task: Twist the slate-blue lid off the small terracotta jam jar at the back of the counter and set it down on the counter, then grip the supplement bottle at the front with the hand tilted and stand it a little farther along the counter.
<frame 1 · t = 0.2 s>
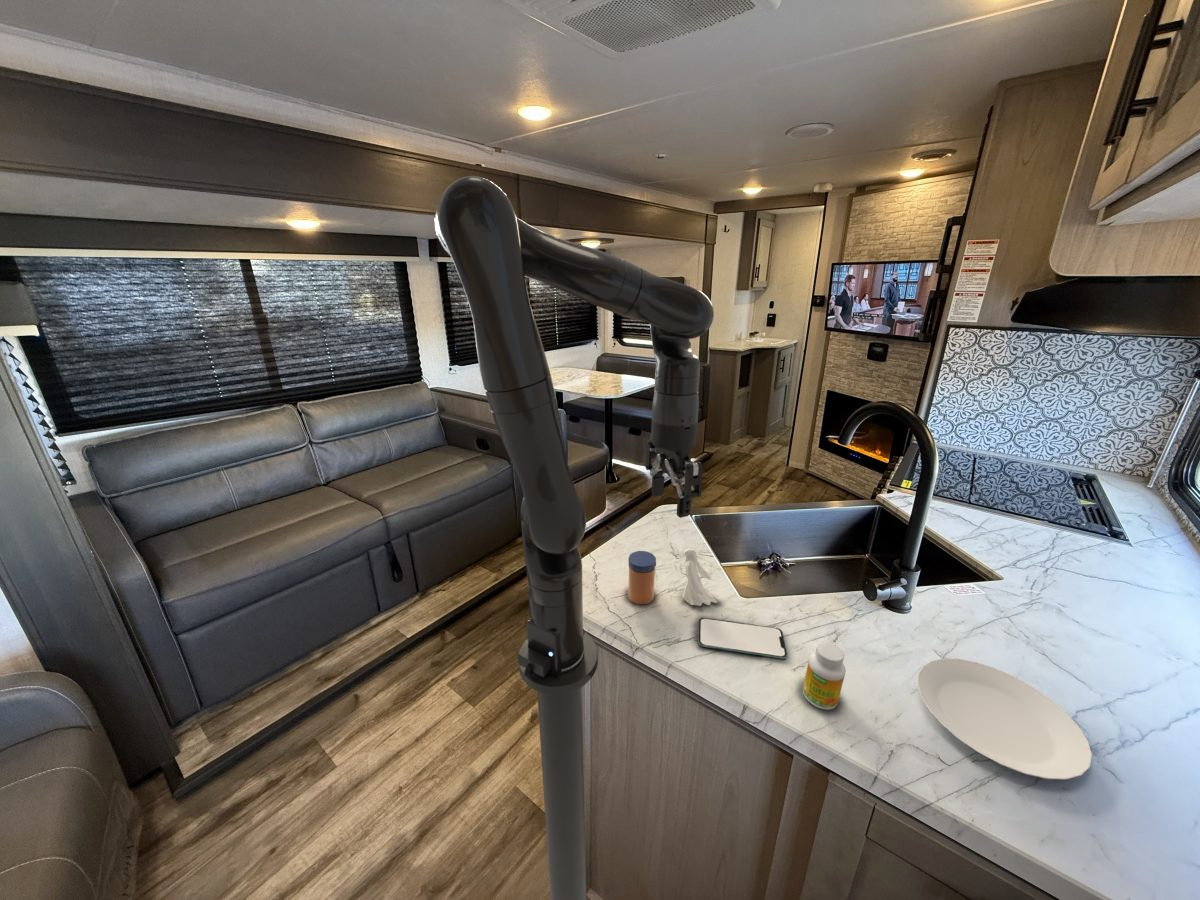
hand: (669, 505, 81), 28 cm above the worktop, tool pointing down, fingers open, 8 cm apart
jar: (640, 596, 100), on the worktop
supplement bottle: (819, 697, 76), on the worktop
jar lid: (642, 560, 97), point 9 cm above the worktop, screwed on, not yet turned
plate: (992, 721, 72), on the worktop
figurine: (698, 599, 100), on the worktop
smartphone: (740, 639, 89), on the worktop
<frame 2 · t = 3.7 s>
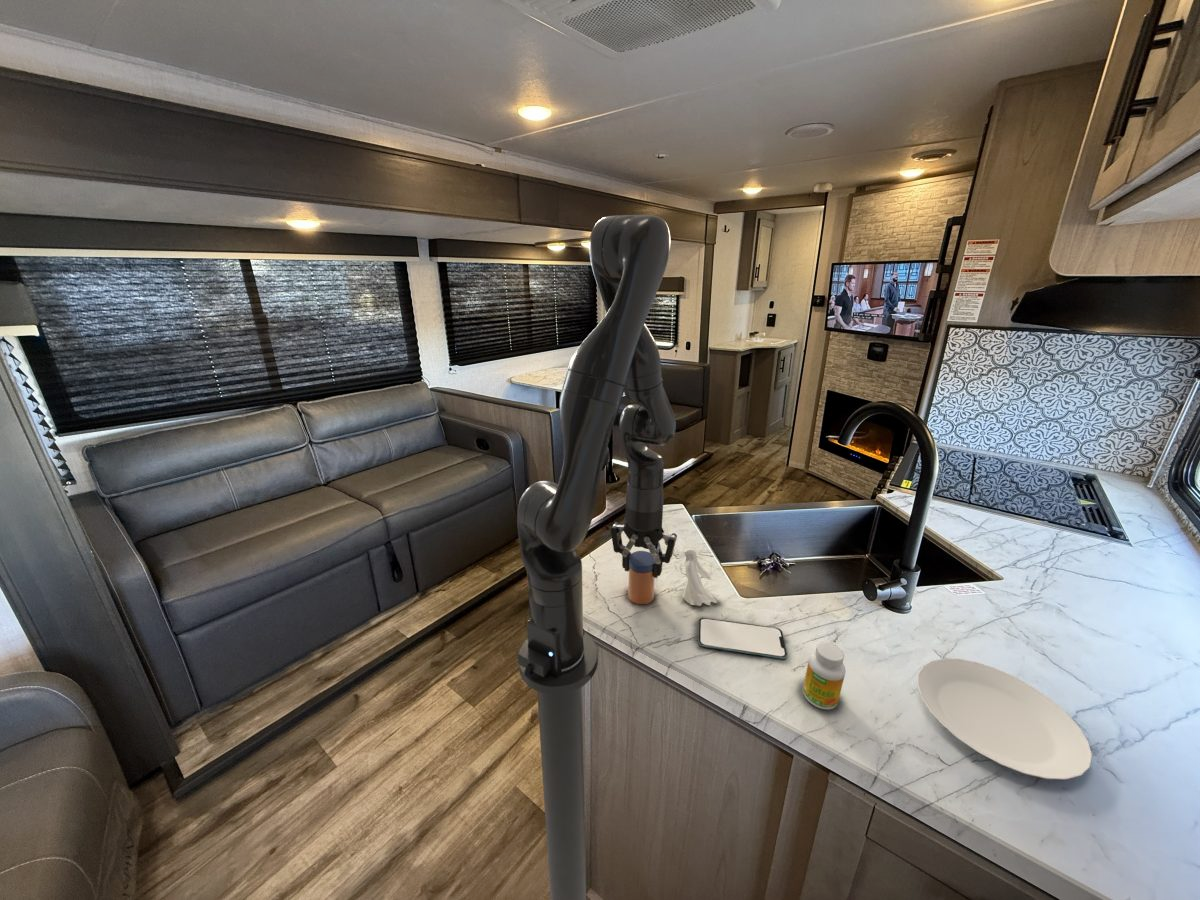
hand: (641, 572, 98), 6 cm above the worktop, tool pointing down, fingers closed on jar lid, 5 cm apart
jar lid: (642, 560, 97), point 9 cm above the worktop, screwed on, not yet turned, touching gripper
everything else where it was.
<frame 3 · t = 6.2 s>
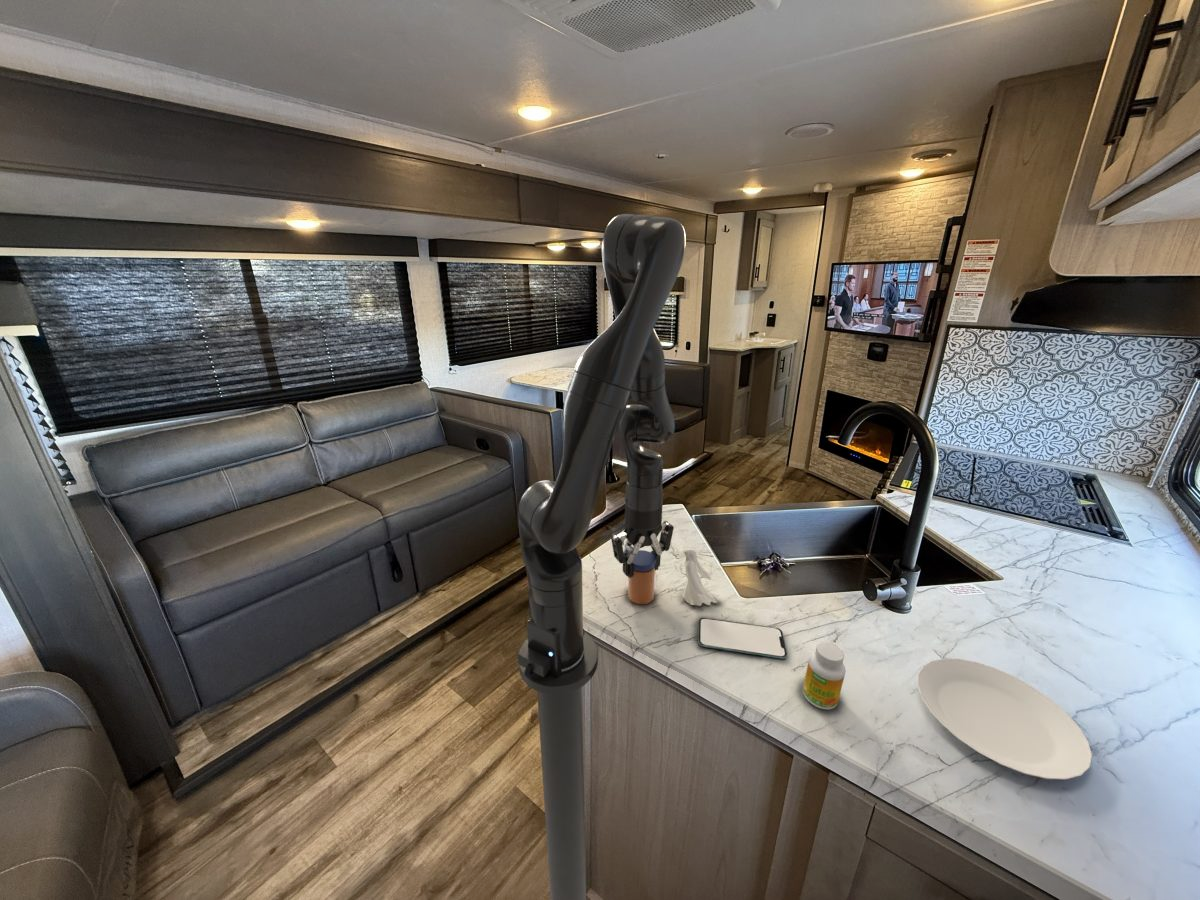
hand: (641, 571, 98), 6 cm above the worktop, tool pointing down, fingers closed on jar lid, 5 cm apart
jar lid: (642, 559, 97), point 9 cm above the worktop, turned 46° so far, risen 0.1 cm, still on its thread, touching gripper
everything else where it was.
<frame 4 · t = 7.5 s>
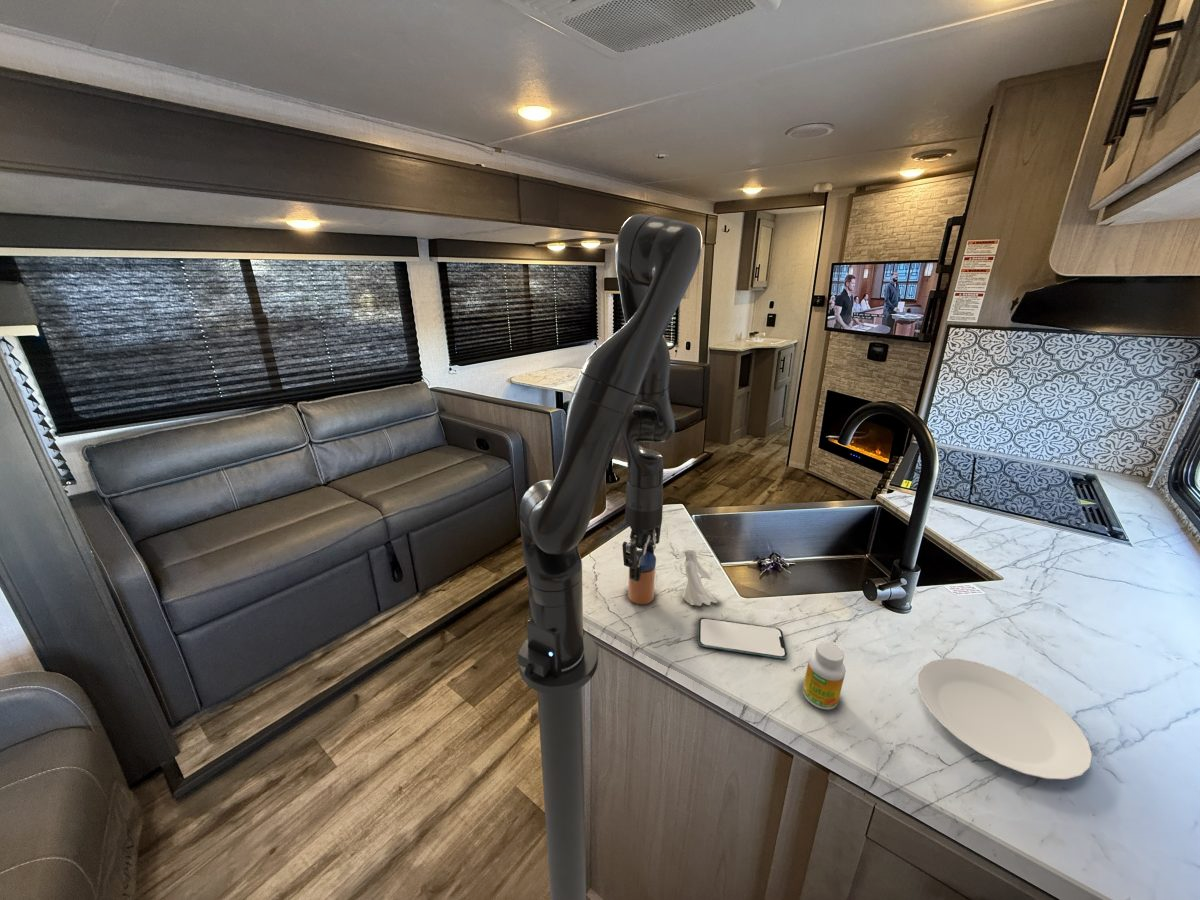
hand: (641, 571, 98), 6 cm above the worktop, tool pointing down, fingers closed on jar lid, 5 cm apart
jar lid: (642, 559, 97), point 9 cm above the worktop, turned 80° so far, risen 0.2 cm, still on its thread, touching gripper
everything else where it was.
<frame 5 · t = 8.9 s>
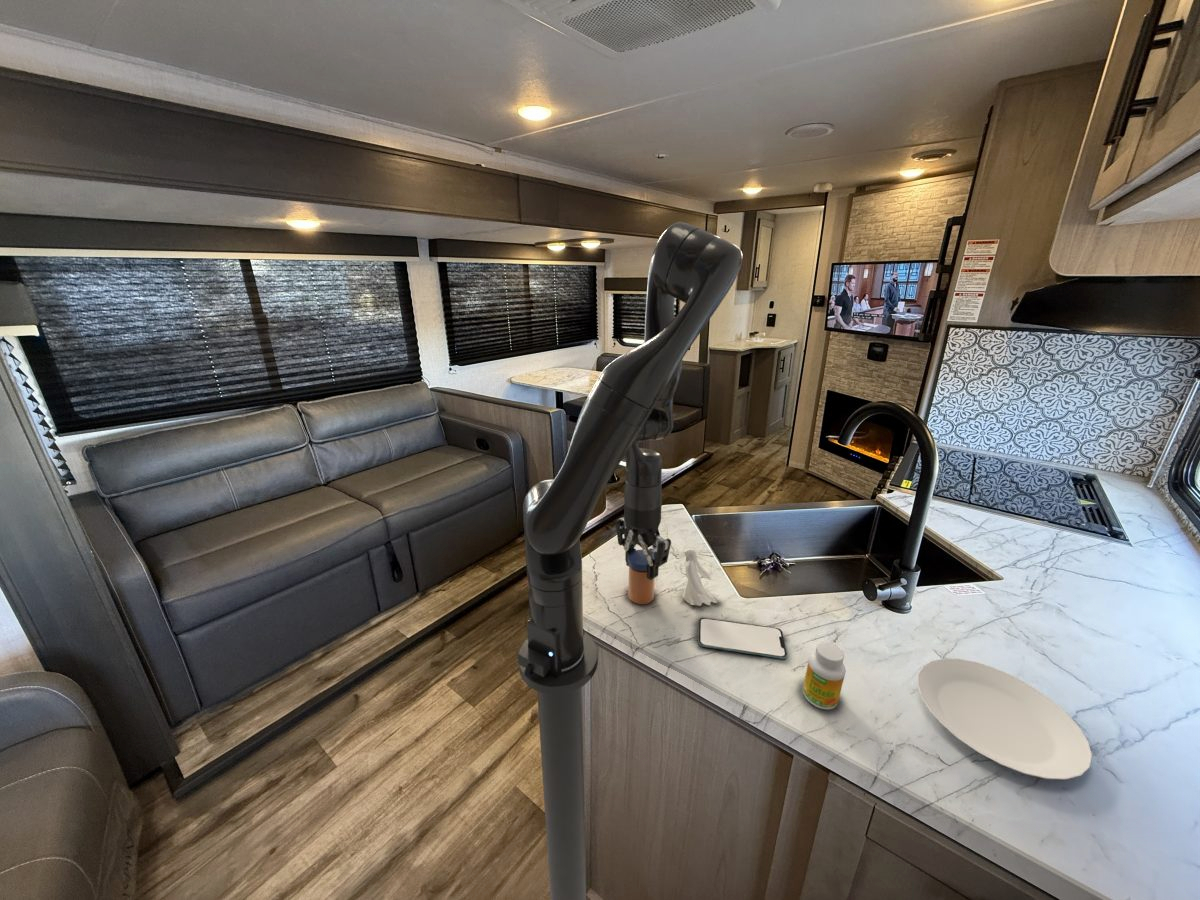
hand: (641, 570, 98), 7 cm above the worktop, tool pointing down, fingers closed on jar lid, 5 cm apart
jar: (640, 595, 100), on the worktop, touching gripper
jar lid: (641, 558, 97), point 10 cm above the worktop, off its thread, touching gripper
everything else where it was.
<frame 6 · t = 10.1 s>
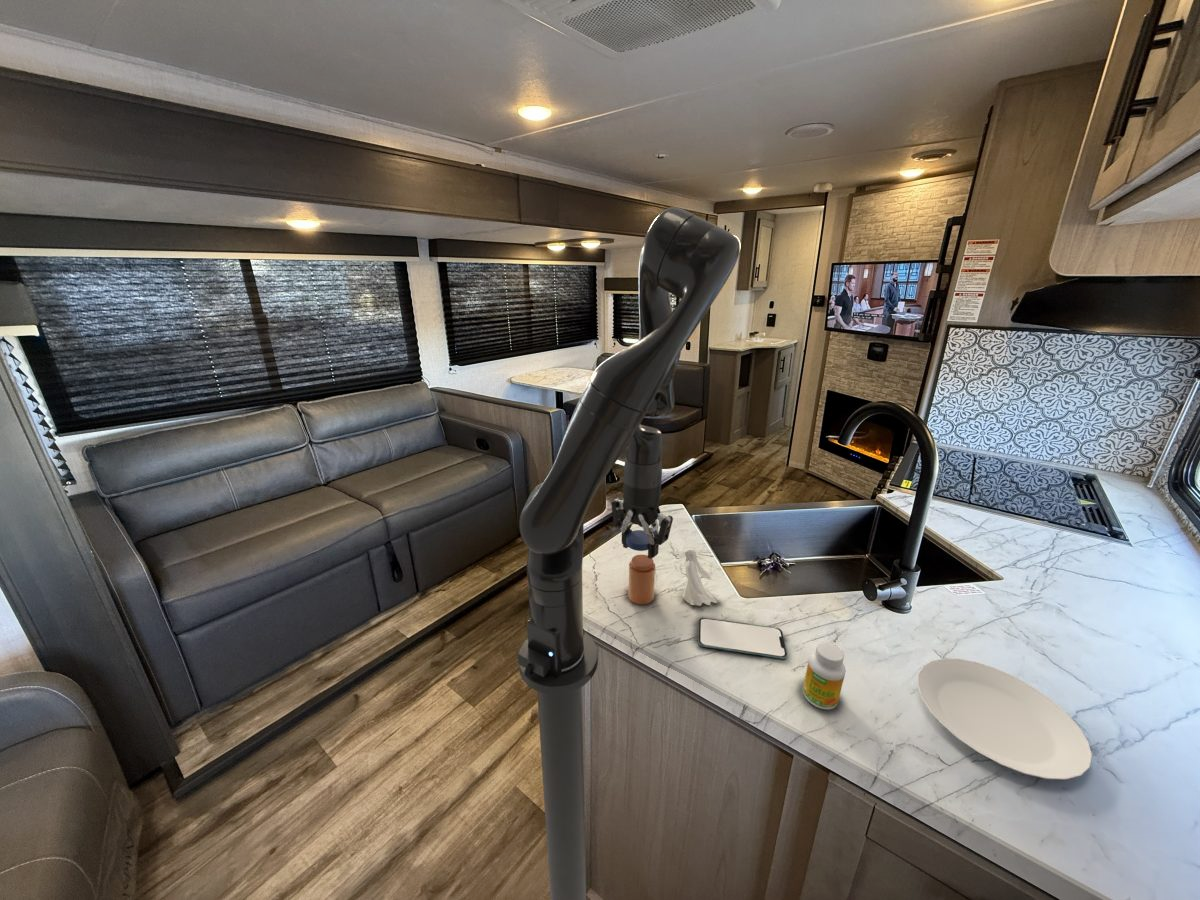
hand: (639, 551, 97), 11 cm above the worktop, tool pointing down, fingers closed on jar lid, 5 cm apart
jar: (640, 596, 100), on the worktop
jar lid: (639, 538, 96), point 14 cm above the worktop, off its thread, touching gripper
everything else where it was.
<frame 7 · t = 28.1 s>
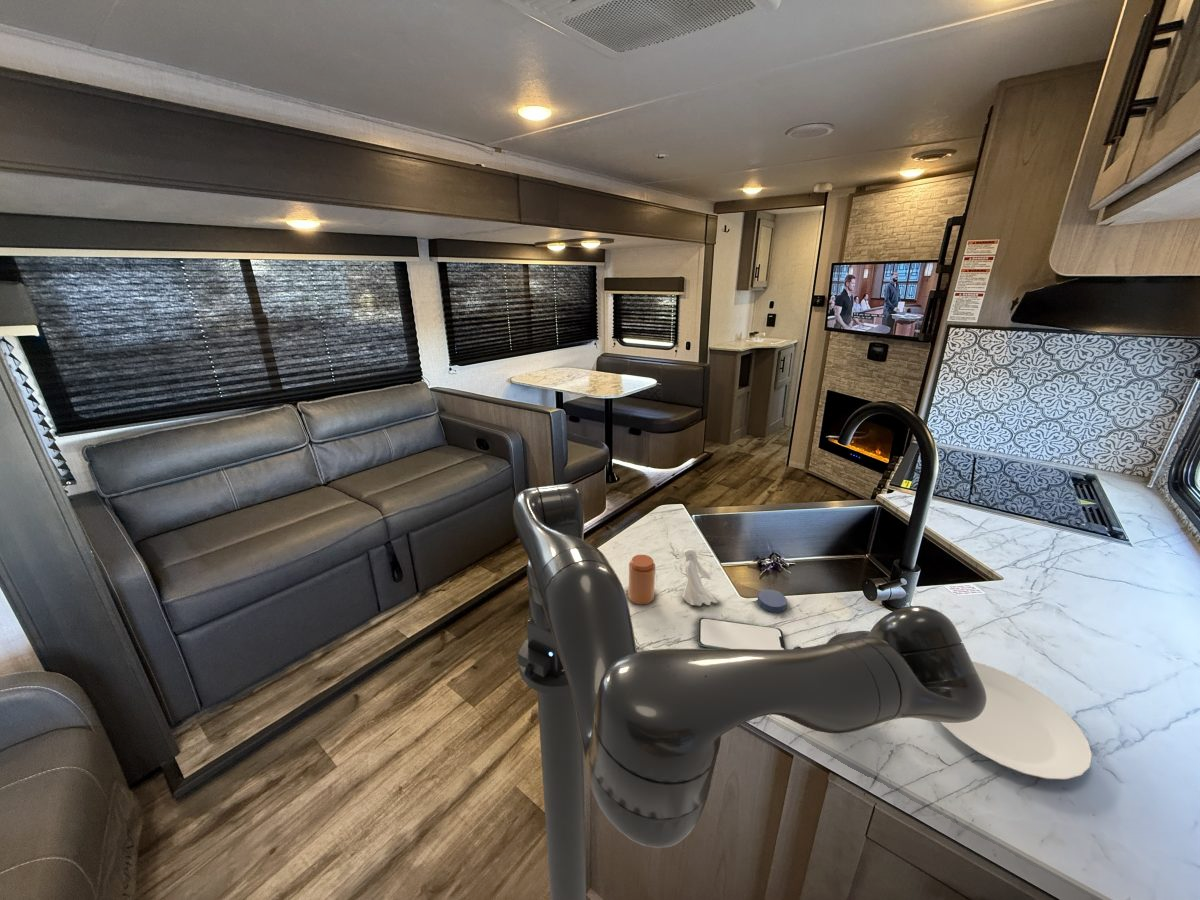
hand: (822, 661, 76), 6 cm above the worktop, tool tilted 45°, fingers closed on supplement bottle, 5 cm apart
supplement bottle: (819, 697, 76), on the worktop, touching gripper
jar lid: (772, 599, 98), point 1 cm above the worktop, off its thread
everything else where it was.
when the fingers open (6 cm above the worktop, at t = 35.3 s): supplement bottle stays where it is, on the worktop.
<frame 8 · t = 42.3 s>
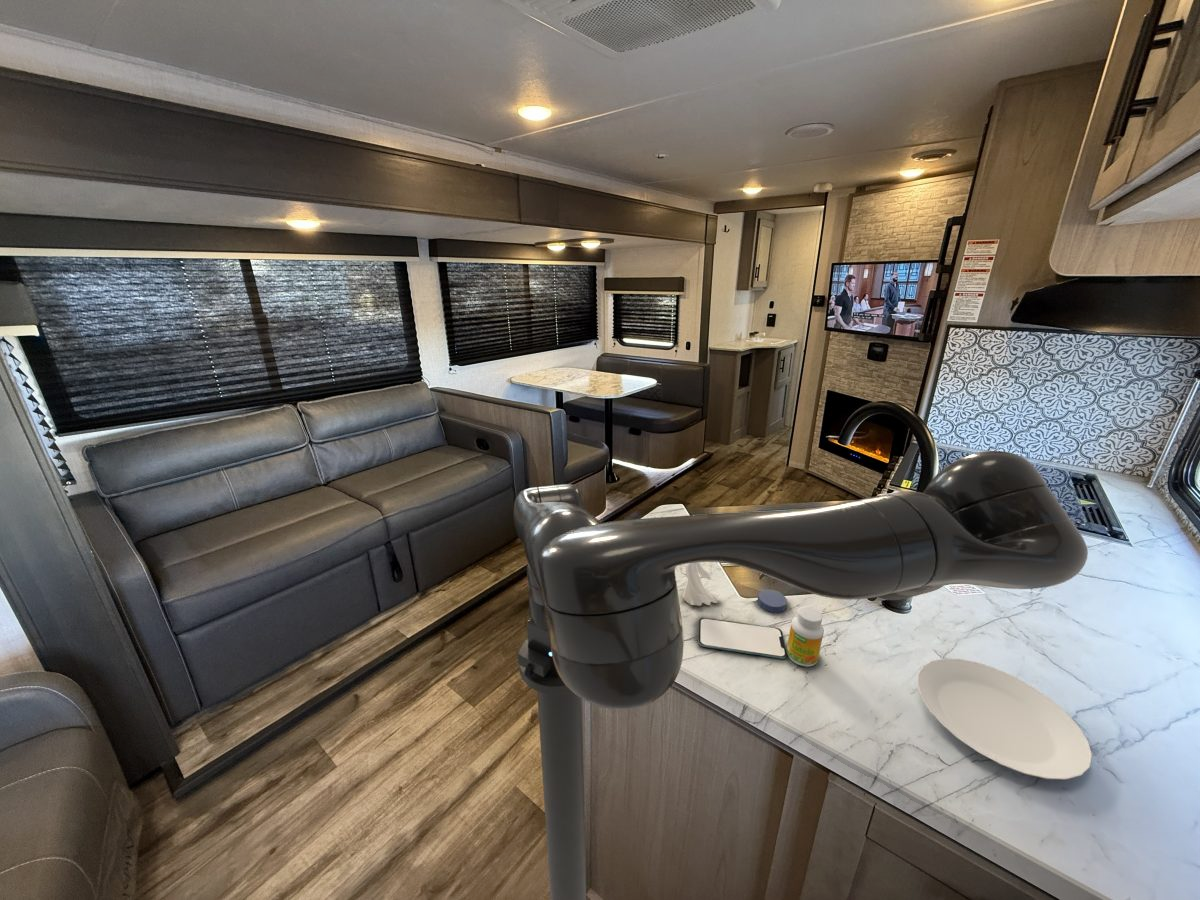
hand: (848, 582, 65), 25 cm above the worktop, tool tilted 45°, fingers open, 8 cm apart
supplement bottle: (801, 656, 85), on the worktop
everything else where it was.
at the end: jar lid inside the target area (0.2 cm from its centre), point 1.1 cm above the worktop; jar lid came off its thread; supplement bottle inside the target area (0.2 cm from its centre), on the worktop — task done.
